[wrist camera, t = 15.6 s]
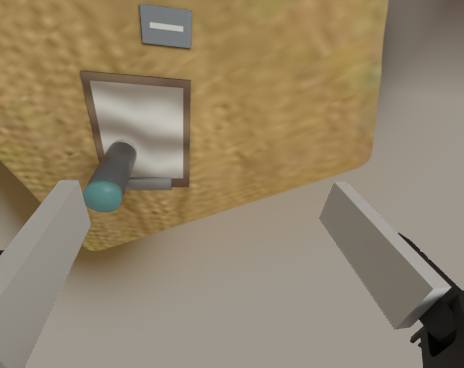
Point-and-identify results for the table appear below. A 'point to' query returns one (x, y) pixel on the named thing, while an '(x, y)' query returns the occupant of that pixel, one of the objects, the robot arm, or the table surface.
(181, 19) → the word card
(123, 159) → the marker
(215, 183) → the table surface
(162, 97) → the clipboard
